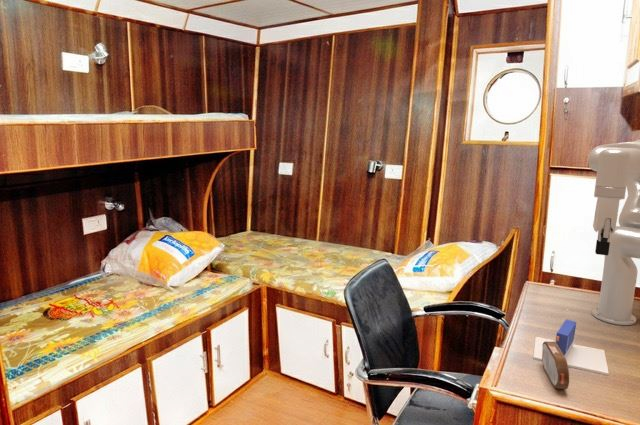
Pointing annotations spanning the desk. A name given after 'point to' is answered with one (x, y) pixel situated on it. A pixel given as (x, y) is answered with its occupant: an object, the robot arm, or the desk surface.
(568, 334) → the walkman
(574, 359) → the mat
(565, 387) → the tin
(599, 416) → the desk surface
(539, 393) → the desk surface
